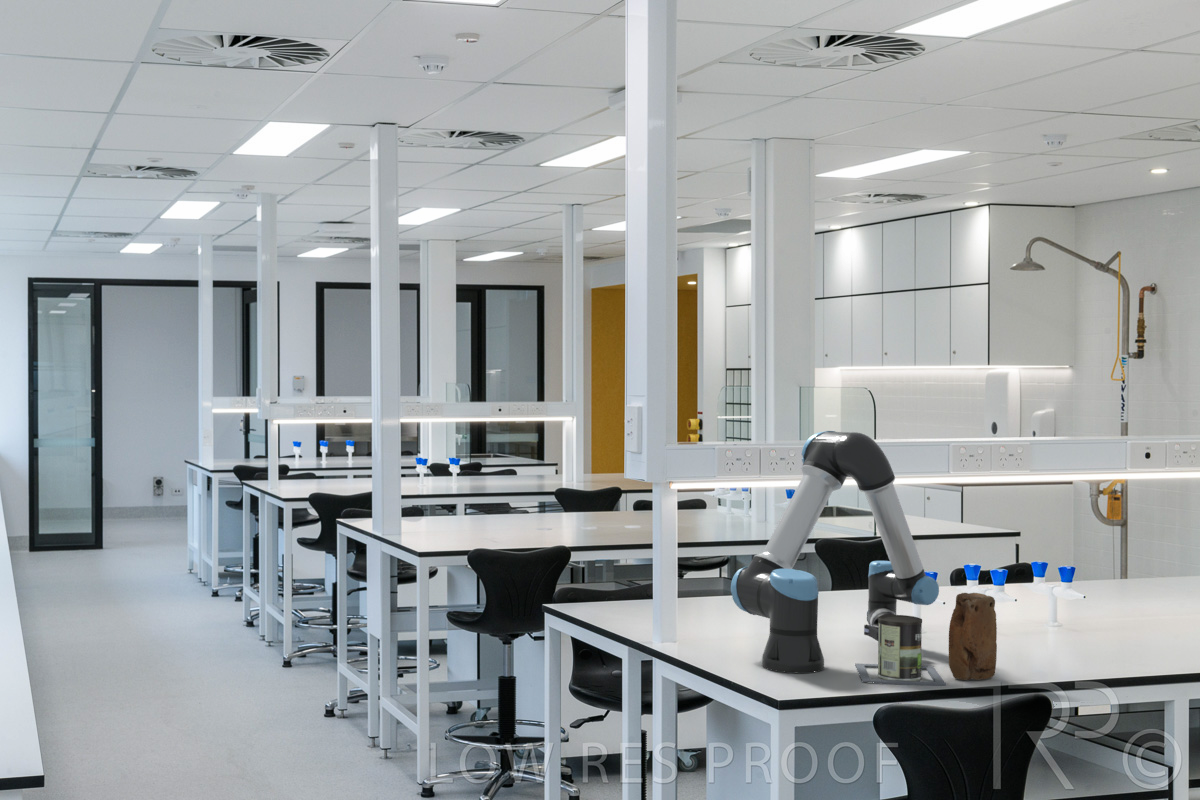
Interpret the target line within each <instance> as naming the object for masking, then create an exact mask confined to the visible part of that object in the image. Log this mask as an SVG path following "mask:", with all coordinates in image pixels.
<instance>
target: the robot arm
mask: <svg viewBox="0 0 1200 800" xmlns="http://www.w3.org/2000/svg"><path fill="white" fill-rule="evenodd" d="M801 456H802V458H801V461H802V465H801V467H800V469H801V473H802V477H801V480H800V482H799V484H798V485H797V488H796V489H795V491H794V493H793V495H792V497H791V499H790V500H789V502H788V504H787V506H786V508H785V509H784V512H783V513H782V515H781V518H780V520H779V521H778V522H777V525H776V527H775V529H774V530H773V533H772V534H771V536H770V537H769V540H768V542H767V543H766V545H765V547H764V549H763V551H762V552H760V553H758V554H755V555H754V556H753V557H752V560H751V561H750V563H749V564H748V566H743V567H742V568H740V569H738V570H737V571H736V572H735V573H734V575H733V577H732V579H731V584H730V593H731V596H732V598H731V599H732V600H733V602H734V604H735V605H736V606H737V608H738V609H740V610H741V611H743V612H746V613H748V614H750V615H753V616H758V617H763V618H767V619H769V634H768V639H767V641H766V645H765V647H764V650H763V653H762V656H761V657H762V658H761V666H762V667H763V668H764V667H765V669H767V668H768V669H767V670H770V669H772V670H771V671H774V670H777V671H776V672H779V671H785V672H784V673H787V672H811V673H815V672H814V671H817V672H820V670H821V671H823V670H824V669H825V658H824V655H823V652H822V651H823V650H822V648H821V645H820V641H819V637H818V612H819V611H818V610H819V609H818V608H819V607H818V606H819V589H818V580H817V578H816V576H814V574H812V573H809V572H808V571H805V570H800V569H798V570H797V569H794V566H795V564H796V562H797V560H798V558H799V556H800V554H801V553H802V550H803V549H804V546H805V545H806V543H807V541H808V539H809V538H810V535H811V533H812V531H813V530H814V527H815V526H816V524H817V522H818V520H819V518H820V516H821V514H822V512H823V510H824V508H825V507H826V504H827V503H828V501H829V498H830V497H831V495H832V493H833V492H834V491H837V490H841V489H842V487H843V485H844V483H845V481H846V479H847V478H852V479H853V480H854V481H855V482H856V485H857V487H858V490H859V491H860V492H863V493H864V494H865V497H866V500H867V504H868V506H869V508H870V511H871V513H872V516H873V519H874V522H875V525H876V527H877V530H878V533H879V535H880V538H881V540H882V543H883V546H884V549H885V552H886V555H887V557H888V560H873V561H871V562H870V563H869V567H868V575H867V578H868V601H867V607H868V608H867V612H866V622H867V624H864V626H863V635H864V636H868V637H870V638H872V639H873V640H875V641H877V642H878V627H879V621H878V617H879V616H883V615H897V602H898V601H902V602H907V603H910V604H911V603H912V604H914V605H921V606H930V605H932V604H933V603H935V602H936V600H937V599H938V596H939V595H940V594H939V592H940V586H939V583H938V581H937V580H935V578H934V577H931V576H929V575H927V574H926V572H925V569H924V567H923V564H922V560H921V558H920V555H919V552H918V549H917V547H916V544H915V541H914V538H913V535H912V533H911V531H910V530H911V529H910V527H909V524H908V521H907V519H906V517H905V514H904V511H903V508H902V506H901V502H900V499H899V496H898V494H897V491H896V487H895V485H894V482H895V480H896V477H895V474H894V470H893V468H892V467H891V464H890V462H889V459H888V458H887V455H886V454H885V453H884V451H883V450H882V448H881V447H880V445H878V443H877V442H876V441H875V440H874V439H872V438H871V437H870V436H868V435H866V434H863V433H862V432H854V431H852V432H850V431H849V432H846V431H845V432H844V431H833V430H825V431H819V432H815V433H814V434H812V435H811V436H810V437H809V438H807V440H806V441H805V442H804V444H803V446H802V450H801ZM897 600H898V601H897Z"/></svg>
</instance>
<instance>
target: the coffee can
mask: <svg viewBox="0 0 1200 800" xmlns="http://www.w3.org/2000/svg"><path fill="white" fill-rule="evenodd" d="M878 621H879V627H878V641H877V644H878V645H877V646H878V647H877V649H878V650H877V652H878V653H877V662H878V663H877V664H878V668H877V670H878V671H877V677H878V678H880V679H881V680H906V681H922V670H921V666H922V635H923V634H922V633H923V631H922V629H923V628H922V626H923V625H922V624H923V619H922V618H921V617H917V616H913V615H904V614H896V615H883V616H879V617H878Z"/></svg>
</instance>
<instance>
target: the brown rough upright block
mask: <svg viewBox="0 0 1200 800" xmlns="http://www.w3.org/2000/svg"><path fill="white" fill-rule="evenodd" d="M995 605H996V600H995V597H993V596H991V595H986V594H984V593H980V592H979V593H978V592H970V593H968V592H962V593H958V594H957V595H956V597H955V608H954V609H953V610H952V615H951V617H950V620H949V621H950V622H949V627H948V665H949V670H950V672H951V674H952V677H953V678H955V679H957V680H959V681H961V680H962V681H970V680H974V681H977V680H978V681H979V680H988V679H991V678H993V677H994V676H995V675H996V668H997V649H998V647H997V645H998V644H997V637H998V636H997V633H998V632H997V629H998V628H997V613H996V610H995Z"/></svg>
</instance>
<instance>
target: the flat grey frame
mask: <svg viewBox="0 0 1200 800" xmlns="http://www.w3.org/2000/svg"><path fill="white" fill-rule="evenodd" d="M854 666H855V669H856V668H857V669H856V671H857V670H858V671H857V673H858V672H859V673H858V675H859V674H860V676H859V678H860V677H861V678H860V679H862V680H861V682H862V681H863V682H872V683H871V684H878V683H882V685H905V686H906V685H907V686H909V685H910V686H936V687H947V683H946V682H945V680H944V679H943V678H942V676H941V674H940V673H939V672H938V671H937V669H936V668H935V666H933V665H921V671H922V670H923V671H926V672H927V671H928V672H927V673H928V674H929V676H930V677H931V679H932V680H933V681H930V680H929V681H928V680H925V681H924V680H918V681H906V680H885V679H881V678H880V679H879V678H878V679H877V678H875V679H874V678H871V677H870V675H869V673H868V670H867V669H866V667H875V668H874V669H878V663H854ZM876 667H877V668H876ZM873 682H874V683H873Z"/></svg>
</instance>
